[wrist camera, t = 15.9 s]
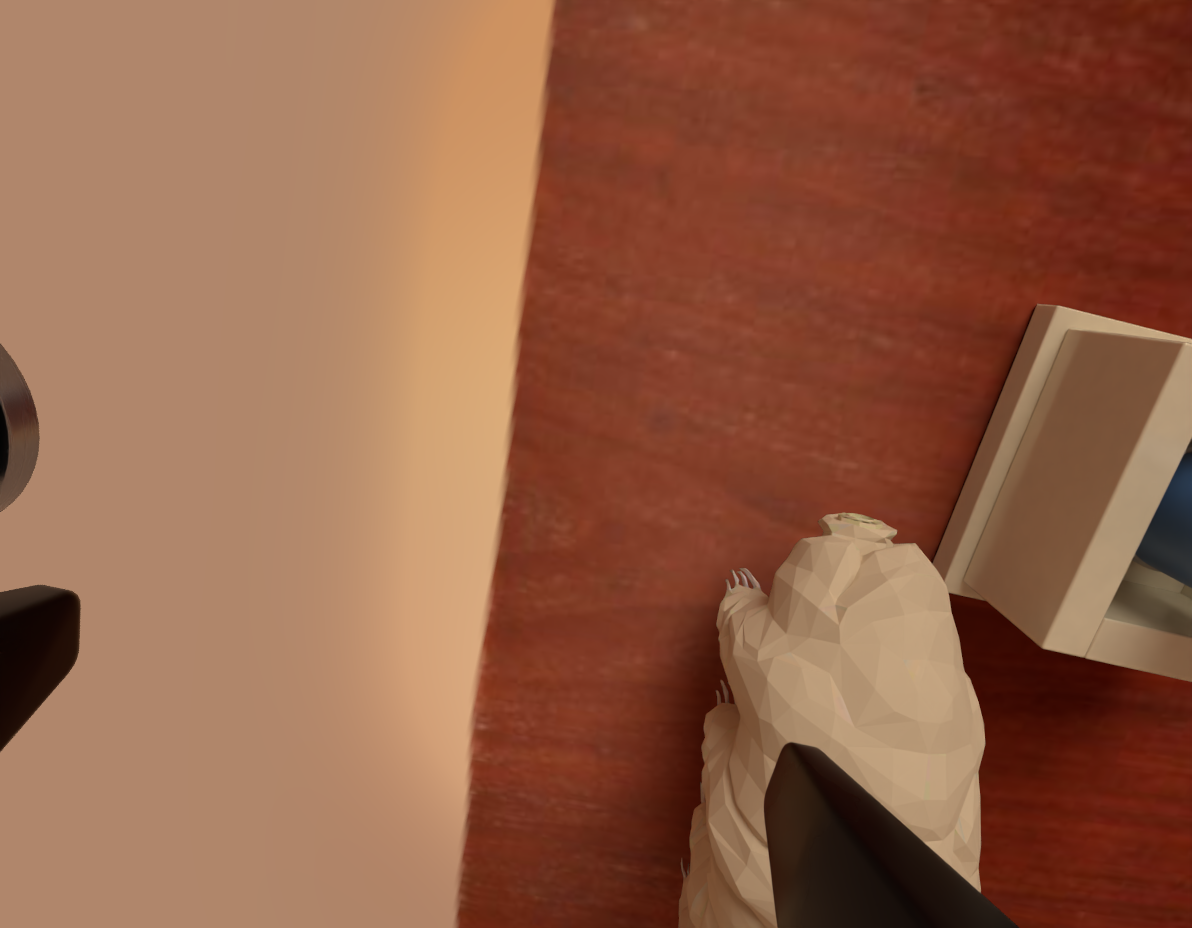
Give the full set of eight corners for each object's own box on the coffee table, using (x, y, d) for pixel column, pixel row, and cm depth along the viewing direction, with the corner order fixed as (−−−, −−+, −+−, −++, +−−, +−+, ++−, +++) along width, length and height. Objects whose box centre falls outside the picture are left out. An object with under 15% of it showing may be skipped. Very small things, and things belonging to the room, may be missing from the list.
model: (918, 482, 21) (1178, 656, 12) (805, 918, 26) (925, 1292, 17) (711, 459, 21) (807, 617, 12) (636, 903, 26) (660, 1272, 17)
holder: (925, 577, 22) (1015, 662, 18) (1036, 303, 20) (1175, 314, 15) (1178, 634, 23) (1332, 731, 18) (1316, 373, 20) (1536, 406, 16)
